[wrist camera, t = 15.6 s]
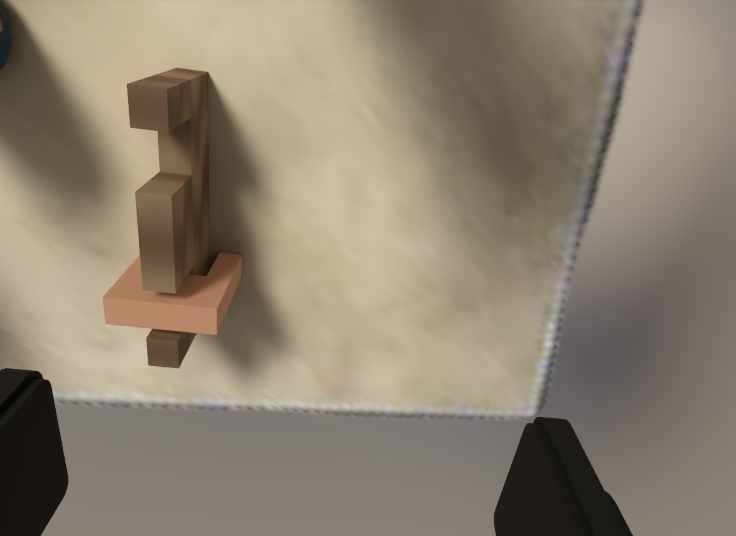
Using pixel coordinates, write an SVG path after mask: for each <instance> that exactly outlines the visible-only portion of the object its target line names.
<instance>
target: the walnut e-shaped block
mask: <svg viewBox="0 0 736 536" xmlns="http://www.w3.org/2000/svg"><path fill="white" fill-rule="evenodd" d="M127 90H128V104H129V117H130V127H131V128H139V129H147V130H154V131H158V145H159V165H160V172H159V173H158V174H156V175H155V176H154V177H153V178H152V179H150V180H149V181H148V182H147V183H145V184H144V185H143V186H142V187H141V188H139V189H138V190H137V191H136V192H135V196H136V209H137V222H138V235H139V248H140V261H141V274H142V287H143V290H144V291H154V292H163V293H173V294H176V292H177V291H178V289H179V288H180V286H181V285H182V283H183V282H184V280H185V278H186V277H187V275H198V276H207V274H208V273H209V271H210V270H209V156H208V72H203V71H196V70H188V69H181V68H175V69H172V70H169V71H166V72H163V73H160V74H157V75H154V76H150V77H147V78H144V79H141V80H138V81H135V82H132V83H129V84H127ZM195 335H196V333H191V332H181V331H171V330H161V329H152V330H151V332H150V333H149V335H148V337H147V338H146V340H147V353H148V365H149V366H160V367H171V368H179V367H180V365H181V363H182V361H183V359H184V357H185V355H186V353H187V351H188V349H189V347H190V345H191V343H192V341H193V339H194V337H195Z"/></svg>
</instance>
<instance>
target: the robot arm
mask: <svg viewBox="0 0 736 536" xmlns="http://www.w3.org/2000/svg"><path fill="white" fill-rule="evenodd" d="M67 486H68V473H67V468H66V463H65V457H64V452H63V446H62V441H61V436H60V431H59V425H58V420H57V414H56V409H55V404H54V398H53V393H52V387H51V384H50V382H49V381H48V380H44V379H43V377H42V374H41V373H40V372H38V371H31V370H21V369H10V368H5V369H2V370H1V371H0V536H41V534H42V532H43V531H44V529H45V527H46V526H47V524H48V522H49V521H50V519H51V517H52V516H53V514H54V513H55V511H56V509H57V507H58V506H59V504H60V502H61V501H62V499H63V497H64V495H65V493H66V490H67ZM494 527H495V532H496V536H633V535H632V533H631V531H630V529H629V527H628V525H627V524H626V522H625V520H624V518H623V516H622V514H621V512H620V510H619V508H618V506H617V504H616V503H615V501H614V500H613V498H612V497H611V495H610V494H608V493H607V492H606V491H604V489H603V487H602V485H601V483H600V481H599V479H598V477H597V475H596V473H595V471H594V469H593V467H592V465H591V463H590V461H589V460H588V458H587V456H586V454H585V452H584V450H583V448H582V446H581V444H580V442H579V440H578V438H577V436H576V434H575V432H574V430H573V428H572V426H571V425H570V423H569V422H568V421H567V420H566V419H557V418H546V417H537V418H536V419H535V420H534V422H533V424H532V423H528V424H527V425H526V426H525V428H524V431H523V434H522V437H521V439H520V443H519V445H518V448H517V450H516V453H515V456H514V459H513V462H512V464H511V467H510V470H509V473H508V476H507V478H506V481H505V484H504V487H503V490H502V492H501V495H500V498H499V501H498V504H497V506H496V509H495V513H494Z"/></svg>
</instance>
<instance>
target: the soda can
mask: <svg viewBox="0 0 736 536" xmlns="http://www.w3.org/2000/svg"><path fill="white" fill-rule="evenodd" d="M10 47H11V30H10V25H9V21H8V18H7V15H6V13H5V11H4V9H3V7H2V6H1V4H0V70H1V69H2V68H3V66H4V65H5V63H6V61H7V59H8V56H9V52H10Z"/></svg>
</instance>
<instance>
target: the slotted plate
mask: <svg viewBox="0 0 736 536" xmlns="http://www.w3.org/2000/svg"><path fill="white" fill-rule="evenodd" d="M241 278H242V255H241V254H232V253H223V252H220V253H219V255H218V257H217V258H216V260H215V262H214V264H213V266H212V267H211V269H210V271H209V273H208V274H207V276H198V275H187V277H186V278H185V280H184V282H183V283H182V285H181V286H180V288H179V289H178V291H177V292H176V294H173V293H163V292H154V291H144V290H143V287H142V274H141V261H140V256H139V257H138V258H137V259H136V260H135V261H134V262H133V264H132V265H131V266H130V267H129V268H128V269H127V270H126V271H125V273H124V274H123V275H122V276H121V277H120V278H119V279H118V280H117V282H116V283H115V284H114V285H113V286H112V287H111V288H110V289H109V291H108V292H107V293H106V294H105V295H104V296H103V304H104V313H105V321H106V324H111V325H121V326H131V327H141V328H151V329H161V330H171V331H181V332H191V333H201V334H211V335H217V333H218V331H219V329H220V326H221V324H222V322H223V319H224V317H225V315H226V313H227V310H228V308H229V306H230V303H231V301H232V299H233V297H234V294H235V292H236V290H237V287H238V285H239V283H240V280H241Z"/></svg>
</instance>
